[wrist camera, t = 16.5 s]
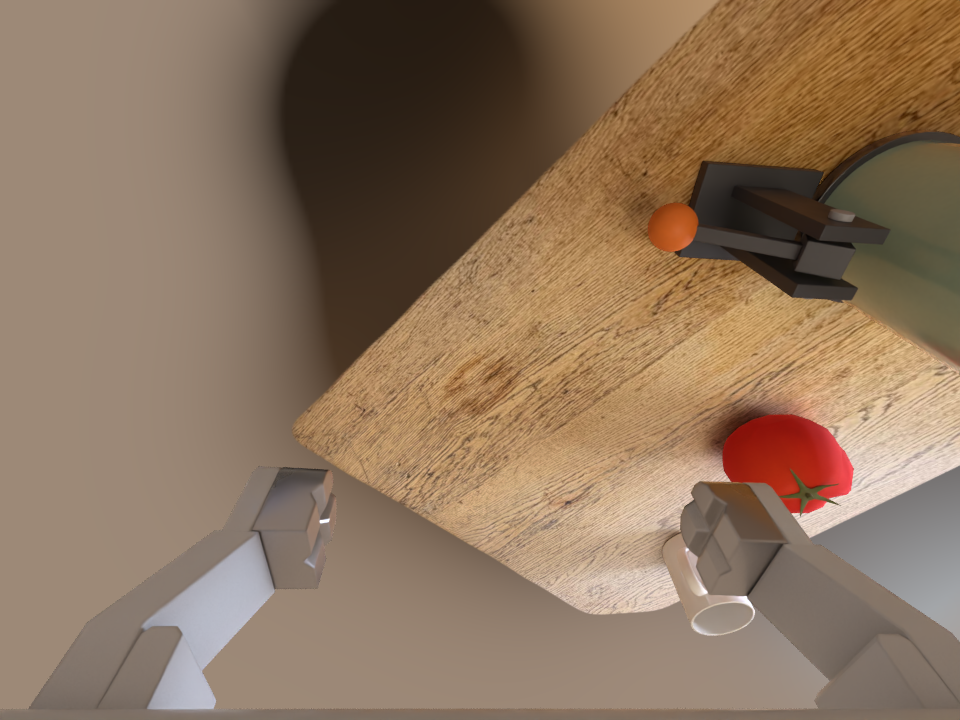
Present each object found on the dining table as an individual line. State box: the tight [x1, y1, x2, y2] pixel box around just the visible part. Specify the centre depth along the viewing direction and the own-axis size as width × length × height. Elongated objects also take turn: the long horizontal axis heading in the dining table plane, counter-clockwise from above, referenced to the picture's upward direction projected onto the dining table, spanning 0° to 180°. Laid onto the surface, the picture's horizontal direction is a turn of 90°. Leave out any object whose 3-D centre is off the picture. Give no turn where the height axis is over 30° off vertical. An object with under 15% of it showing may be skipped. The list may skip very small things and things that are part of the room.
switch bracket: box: [675, 161, 891, 301], centre depth 36 cm, size 10×8×13 cm
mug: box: [662, 533, 755, 636], centre depth 62 cm, size 12×8×10 cm, turn 38°
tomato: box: [723, 414, 854, 517], centre depth 51 cm, size 11×13×10 cm
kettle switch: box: [648, 203, 856, 280], centre depth 34 cm, size 13×4×4 cm, turn 86°
